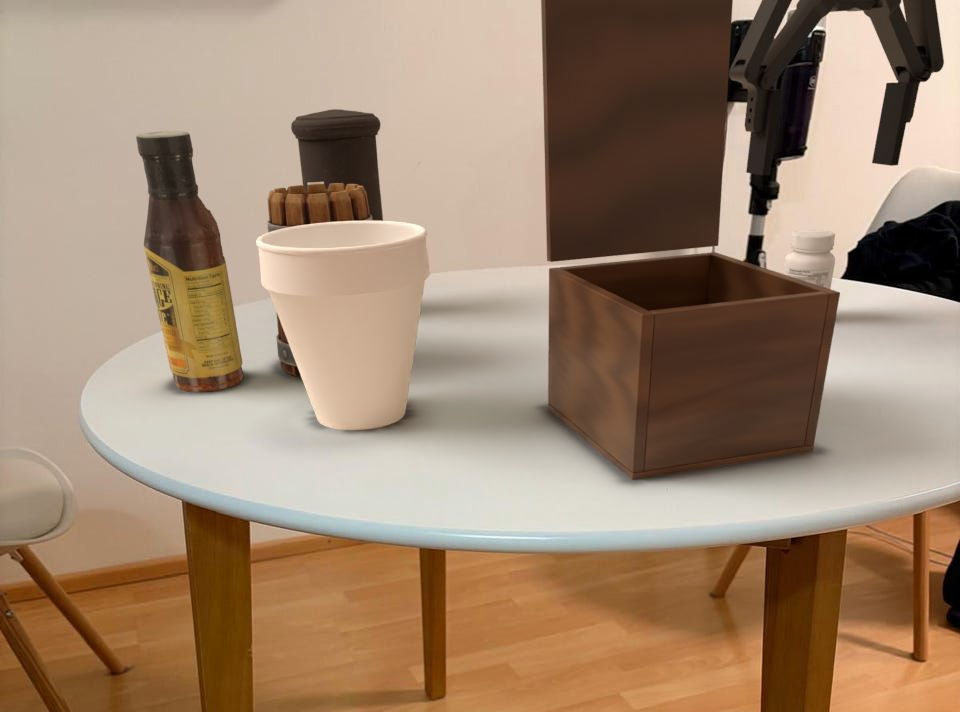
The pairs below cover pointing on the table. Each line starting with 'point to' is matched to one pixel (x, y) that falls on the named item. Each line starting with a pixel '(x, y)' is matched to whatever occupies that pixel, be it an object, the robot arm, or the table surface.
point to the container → (340, 151)
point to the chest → (688, 360)
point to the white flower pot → (349, 313)
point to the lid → (633, 124)
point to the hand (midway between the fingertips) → (822, 169)
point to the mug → (311, 209)
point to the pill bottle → (811, 257)
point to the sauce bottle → (188, 269)
